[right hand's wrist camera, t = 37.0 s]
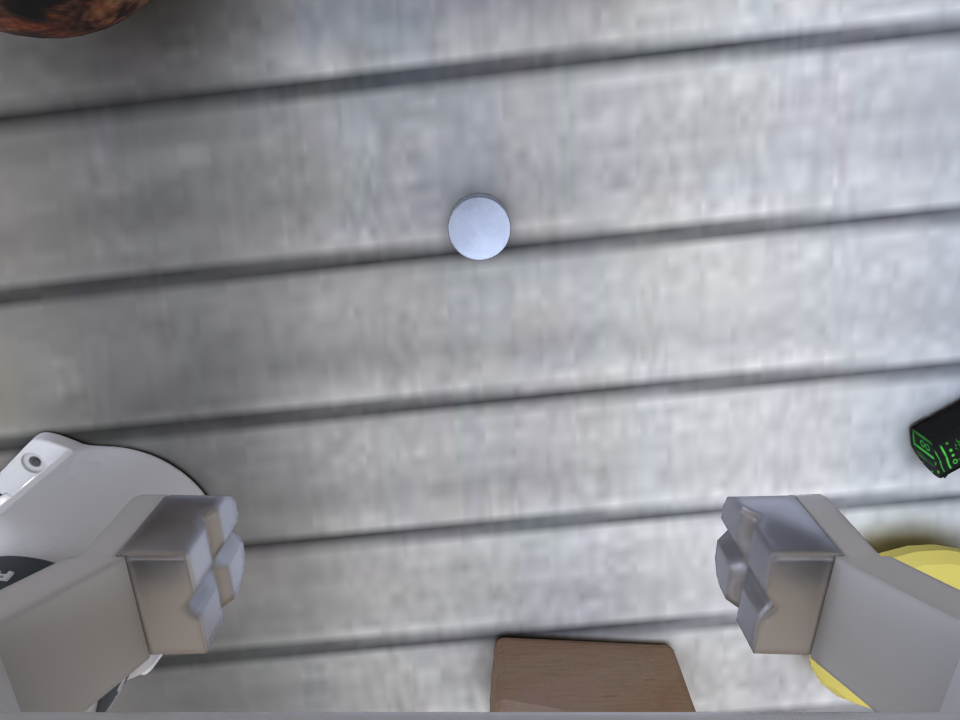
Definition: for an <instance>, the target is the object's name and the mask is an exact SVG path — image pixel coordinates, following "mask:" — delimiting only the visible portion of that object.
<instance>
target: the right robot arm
mask: <svg viewBox="0 0 960 720" xmlns="http://www.w3.org/2000/svg"><path fill="white" fill-rule="evenodd" d="M36 457H37V458H39V459H40V460H41V461H39V460H38V459H37V458H36ZM238 519H239V516H238V512H237V507H236V502H235V500H234V499H233V498H232V497H230V496H209V495H205V494H204V493H203V492H202V490H201V489H200V488H199V487H198V486H197V485H196V484H195V483H194V482H193V481H192V480H191V479H190V478H189V477H188V476H186V475H185V474H184V473H183V472H181V471H180V470H178V469H177V468H175V467H174V466H172V465H171V464H169V463H167V462H165V461H163V460H161V459H159V458H157V457H155V456H152V455H150V454H147V453H144V452H141V451H137V450H133V449H129V448H123V447H114V446H94V445H87V444H83V443H80V442H78V441H75V440H73V439H70V438H68V437H65V436H62V435H59V434H55V433H50V432H43V433H40V434H38V435H37V436H35V437H34V438H33V439H32V440H31V441H30V442H29V443H28V444H27V445H26V446H25V447H24V448H23V449H22V450H21V451H20V453H19V454H18V455H17V456H16V457H15V458H14V459H13V460H12V461H11V462H10V463H9V464H8V465H7V466H6V467H5V468H4V469H3V470H2V471H1V472H0V720H960V590H959V589H957V588H955V587H952V586H950V585H948V584H946V583H944V582H942V581H940V580H938V579H936V578H934V577H932V576H930V575H928V574H926V573H924V572H922V571H920V570H918V569H916V568H914V567H911V566H909V565H907V564H905V563H903V562H901V561H899V560H897V559H895V558H893V557H891V556H880V555H879V554H878V553H877V552H876V551H875V549H874V548H873V547H872V546H871V545H870V544H869V543H868V542H867V541H866V540H865V539H864V537H863V536H862V535H861V534H860V533H859V532H858V531H857V530H856V529H855V528H854V526H853V525H852V524H851V523H850V522H849V521H848V520H847V519H846V518H845V517H844V515H843V514H842V513H841V512H840V511H839V510H838V509H837V508H836V507H835V506H834V504H833V503H832V502H831V501H830V500H829V499H828V498H827V497H825V496H822V495H820V494H809V495H789V496H745V497H727V499H726V501H725V503H724V505H723V511H722V516H721V519H722V520H723V522H724V524H725V526H726V527H727V529H728V530H727V531H726V532H725V533H724V534H723V535H722V536H721V537H720V538H719V539H718V541H717V547H716V555H715V562H716V574H717V578H718V581H719V585H720V588H721V590H722V592H723V594H724V596H725V598H726V599H727V600H728V601H730V602H731V603H732V604H734V605H735V606H737V607H738V608H739V609H738V614H737V622H738V624H739V626H740V628H741V630H742V632H743V634H744V636H745V637H746V639H747V641H748V643H749V645H750V647H751V649H752V651H753V653H761V654H797V655H810V658H811V659H812V660H814V661H815V662H816V663H817V664H818V665H820V666H821V667H822V668H823V669H824V670H826V671H827V672H828V673H829V674H831V675H832V676H833V677H834V678H835V679H837V680H838V681H839V682H840V683H841V684H843V685H844V686H845V687H846V688H847V689H849V690H850V691H851V692H852V693H853V694H855V695H856V696H857V697H858V698H860V699H861V700H862V701H863V702H864V703H866V704H867V705H868V706H869V707H870V708H872V709H873V710H874V711H875V712H107V711H108V710H109V709H110V708H111V706H112V705H113V703H114V702H115V700H116V699H117V697H118V696H119V694H120V692H121V691H122V688H123V686H124V683H125V682H126V680H129V679H132V678H134V677H137V676H138V675H146V674H147V673H148V672H150V671H151V670H152V669H153V667H154V666H155V665H156V663H157V662H158V661H159V659H160V658H161V656H162V655H163V654H198V653H207V651H208V649H209V647H210V645H211V643H212V641H213V639H214V638H215V636H216V634H217V632H218V630H219V628H220V626H221V624H222V622H223V614H222V609H221V608H222V607H223V606H225V605H226V604H228V603H229V602H230V601H232V600H233V599H234V598H235V596H236V594H237V592H238V590H239V588H240V586H241V581H242V577H243V572H244V566H245V553H244V546H243V541H242V539H241V538H240V537H239V536H238V535H237V534H236V533H235V532H234V531H233V530H232V529H233V527H234V526H235V524H236V522H237V520H238Z"/></svg>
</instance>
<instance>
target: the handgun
mask: <svg viewBox="0 0 960 720" xmlns="http://www.w3.org/2000/svg"><path fill="white" fill-rule="evenodd" d="M910 432H911V441H912V447H913V449H914V450H915V452H916V454H917V455H918V457H919V458H920V460H921V461H922V462H923V464H924V465H925V466H926V467H927V468H928V469H929V470H930V471H931V472H932V473H933V474H934V475H935V476H937V477H939V478H942V477H944V478H946V477H947V475H948V474H950V473H951V472H953V471H955V470H957V469H959V468H960V402H959V403H957V404H955V405H953V406H952V407H950V408H948V409H946V410H944V411H943V412H941V413H939V414H937V415H935V416H934V417H932V418H928V419H927V420H925V421H923V422H921V423H920V424H918V425H916V426H914V427H913V428H912V429H911V431H910Z"/></svg>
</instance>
